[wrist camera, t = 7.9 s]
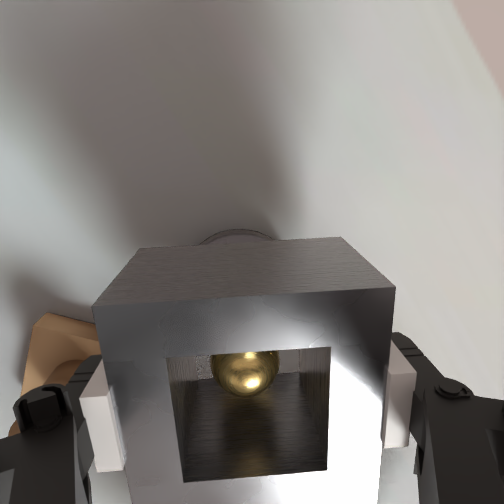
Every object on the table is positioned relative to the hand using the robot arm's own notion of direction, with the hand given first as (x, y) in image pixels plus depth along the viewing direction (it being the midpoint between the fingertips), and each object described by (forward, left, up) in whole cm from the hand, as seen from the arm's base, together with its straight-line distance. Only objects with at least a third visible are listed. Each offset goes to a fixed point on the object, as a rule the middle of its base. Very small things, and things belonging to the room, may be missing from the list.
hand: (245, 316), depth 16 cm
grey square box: (0, 0, +1) cm, 1 cm away
